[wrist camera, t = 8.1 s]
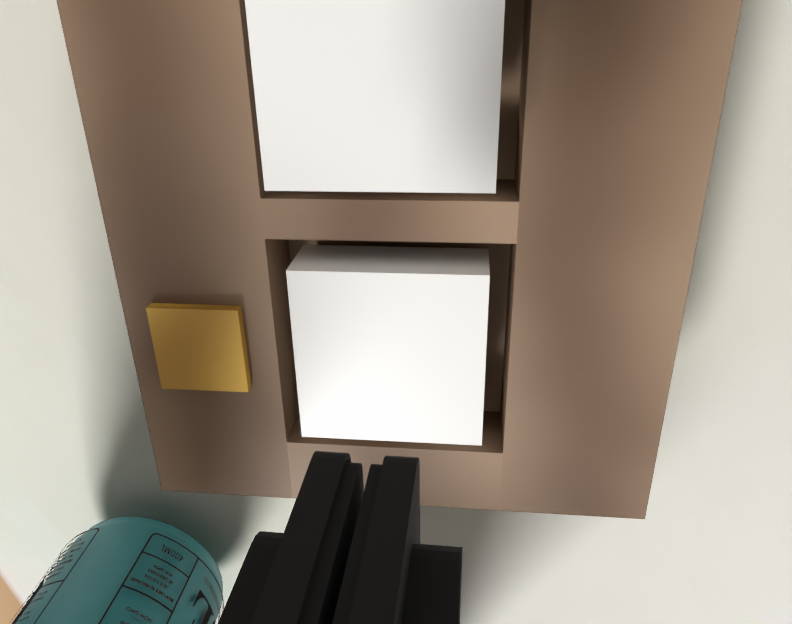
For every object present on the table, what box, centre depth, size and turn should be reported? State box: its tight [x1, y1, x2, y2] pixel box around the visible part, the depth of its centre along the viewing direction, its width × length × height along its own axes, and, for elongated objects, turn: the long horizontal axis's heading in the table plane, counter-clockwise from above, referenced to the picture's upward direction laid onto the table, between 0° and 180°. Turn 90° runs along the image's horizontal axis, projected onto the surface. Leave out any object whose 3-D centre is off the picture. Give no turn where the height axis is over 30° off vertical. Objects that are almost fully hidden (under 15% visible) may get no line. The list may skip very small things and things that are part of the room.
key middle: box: [245, 0, 505, 193], centre depth 13 cm, size 5×5×2 cm
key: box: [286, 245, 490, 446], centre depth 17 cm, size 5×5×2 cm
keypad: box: [57, 0, 742, 519], centre depth 16 cm, size 14×24×5 cm, turn 1°
